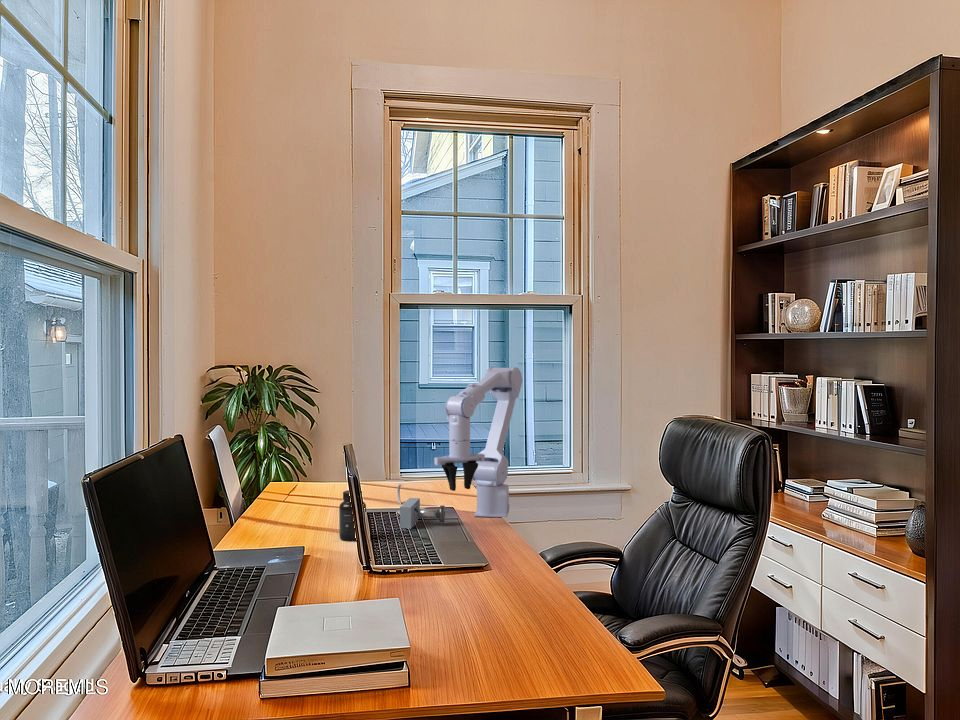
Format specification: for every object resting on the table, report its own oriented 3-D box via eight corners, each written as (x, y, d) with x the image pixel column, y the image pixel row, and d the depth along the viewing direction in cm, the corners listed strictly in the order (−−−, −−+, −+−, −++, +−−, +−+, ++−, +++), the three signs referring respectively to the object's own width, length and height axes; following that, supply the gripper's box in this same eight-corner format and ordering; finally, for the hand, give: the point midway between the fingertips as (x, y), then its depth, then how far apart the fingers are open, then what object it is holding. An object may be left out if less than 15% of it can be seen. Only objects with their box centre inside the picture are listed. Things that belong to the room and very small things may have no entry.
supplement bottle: (333, 539, 187) (333, 492, 186) (350, 533, 193) (350, 488, 193) (355, 542, 184) (355, 495, 183) (371, 536, 190) (371, 490, 189)
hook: (412, 500, 233) (431, 524, 215) (383, 503, 230) (400, 527, 211) (412, 478, 232) (432, 500, 214) (383, 480, 229) (401, 502, 210)
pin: (445, 520, 204) (445, 503, 204) (442, 524, 199) (442, 507, 199) (413, 519, 205) (413, 503, 205) (410, 523, 200) (410, 506, 200)
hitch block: (419, 519, 208) (419, 498, 208) (410, 529, 196) (410, 507, 196) (409, 518, 209) (409, 497, 209) (399, 529, 197) (399, 507, 197)
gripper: (476, 436, 207) (476, 484, 208) (429, 440, 201) (429, 489, 201) (488, 439, 201) (488, 488, 201) (440, 442, 194) (440, 493, 195)
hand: (460, 489), depth 201 cm, fingers open, 4 cm apart
